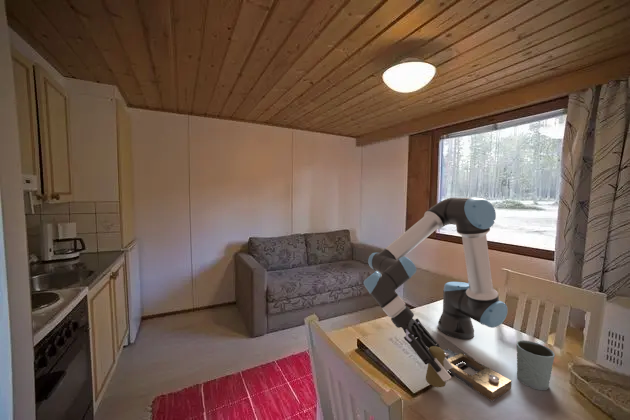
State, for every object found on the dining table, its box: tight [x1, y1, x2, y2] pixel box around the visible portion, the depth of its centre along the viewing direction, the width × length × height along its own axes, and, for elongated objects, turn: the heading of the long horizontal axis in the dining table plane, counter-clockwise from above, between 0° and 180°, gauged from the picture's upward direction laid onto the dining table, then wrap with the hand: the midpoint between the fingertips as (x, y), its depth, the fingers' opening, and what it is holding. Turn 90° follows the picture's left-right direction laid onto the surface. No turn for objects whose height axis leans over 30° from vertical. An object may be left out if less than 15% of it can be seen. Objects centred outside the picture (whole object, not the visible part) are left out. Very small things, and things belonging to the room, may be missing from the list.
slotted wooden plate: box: [443, 348, 512, 402], centre depth 95 cm, size 23×11×4 cm, turn 28°
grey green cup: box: [516, 340, 556, 391], centre depth 91 cm, size 10×10×12 cm
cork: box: [425, 346, 446, 388], centre depth 87 cm, size 6×6×11 cm
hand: (448, 373), depth 85 cm, fingers closed on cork, 5 cm apart
